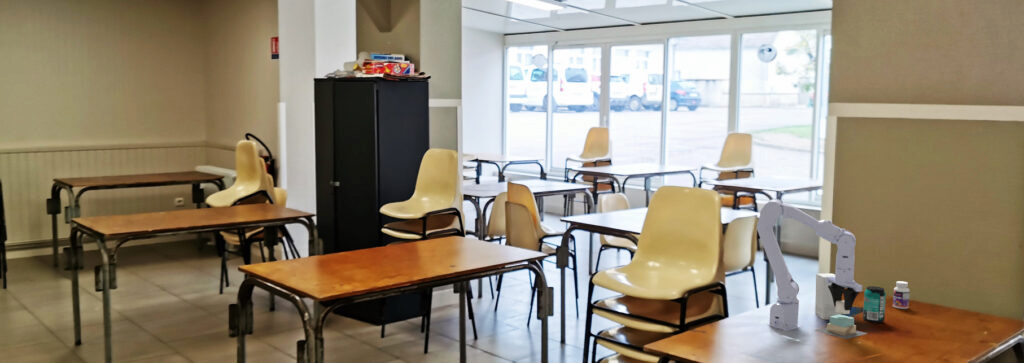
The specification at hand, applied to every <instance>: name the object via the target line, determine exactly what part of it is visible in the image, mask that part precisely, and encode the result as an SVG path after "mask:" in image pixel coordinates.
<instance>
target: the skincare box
mask: <svg viewBox="0 0 1024 363" xmlns="http://www.w3.org/2000/svg"><path fill="white" fill-rule="evenodd" d="M827 277H835V274H834V273H825V272H824V273H815V307H814V310H815V312H814V314H815V315H816V316H817V317H819V318H820V319H822V320H830V316H835V315H839V314H840V313H836V307H835V306H834V302H833V298H832V295H831V292H830V290H829V288H828V285H831V284H832V283H827V282H826V279H827ZM840 315H841V314H840Z"/></svg>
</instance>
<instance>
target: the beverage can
mask: <svg viewBox="0 0 1024 363" xmlns="http://www.w3.org/2000/svg"><path fill="white" fill-rule="evenodd" d="M863 295H864V296H863V312H862V319H863V320H864V322H866V323H871V324H877V323H878V324H882V323H883V322H885V315H886V299H887V293H886V292H885V288H884V287H880V286H871V285H870V286H866V288H865V290H864V293H863Z"/></svg>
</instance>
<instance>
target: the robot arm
mask: <svg viewBox="0 0 1024 363" xmlns="http://www.w3.org/2000/svg"><path fill="white" fill-rule="evenodd" d="M781 216H782V219H793V220H794V221H798V222H799V223H802V224H803V225H804V226H807V227H809V228H810V229H813V230H814V233H815V235H816V236H818V237H820V238H821V239H824V240H825V241H827V242H829V243H831V244H833V245H834V244H835V245H836V247H837V251H836V252H837V253H836V256H835V258H836V259H835V271H834V273H835V277H827V279H826V282H827V283H832V284H831V285H828V288H829V290H830V292H831V295H832V298H833V302H834V306H835V307H836V301H844V308H845V310H850V311H851V310H852V308H853V304H854V302H855V300H856V299H857V296H858V295H859V294H860V292H863V285H862V284H859V283H857V282H856V281H855V280H854V277H855V276H854V274H855V261H856V260H855V258H856V257H855V256H856V255H855V253H856V252H855V250H856V249H855V247H856V244H857V243H856V241H857V239H856V236H855V235H854V233H852V231H850V230H846V229H845V228H844V227H843V228H840V227H839V226H837V225H835V224H834V223H833V221H832V220H830V219H828V220H826V219H821V220H818V219H816V218H815V217H813V216H811V215H809V214H808V213H806V212H804V211H803V210H801V209H799V208H798V207H796V206H794V205H792V204H790V203H788V202H787V201H782V200H781V199H779V198H773V199H770V200H768V202H766V203H765V204H764V206H763V207H762V208H761V209H760V212H759V217H758V221H757V225H756V230H757V234H758V235H759V238H760V241H761V243H762V246H763V249H764V251H765V254H766V256H767V260H768V261H769V265H770V267H771V270H772V273H773V276H774V277H775V284H776V286H777V298H776V301H775V303H774V304H772V305H771V307H770V309H769V310H770V311H769V324H767V326H768V327H769V326H770V327H771V328H776V329H779V330H783V331H790V330H794V329H798V328H803V327H804V325H800V324H799V308H800V306H799V305H800V300H799V299H798V296H797V295H798V294H799V292H800V286H799V284H798V283H797V282H796V281H795V280H794V279H793V275H792V274H791V273H790V271H789V269H788V266H787V264H786V261H785V257H784V256H783V253H782V249H781V247H780V245H779V243H778V240H777V237H776V235H775V233H774V230H773V228H774V226H775V224H776V222H777V220H778V219H780V218H781ZM842 299H843V300H842Z"/></svg>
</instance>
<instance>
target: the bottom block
mask: <svg viewBox="0 0 1024 363" xmlns="http://www.w3.org/2000/svg"><path fill="white" fill-rule="evenodd" d="M829 323H830V322H829ZM829 323H827V324H826V327H827V331H829V332H832V333H836V334H840V335H844V336H845V335H849V334H853V333H856V331H857V325H855V324H854V325H853V326H849V327H845V328H843V327H840V326H836V325H832V324H829Z"/></svg>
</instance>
